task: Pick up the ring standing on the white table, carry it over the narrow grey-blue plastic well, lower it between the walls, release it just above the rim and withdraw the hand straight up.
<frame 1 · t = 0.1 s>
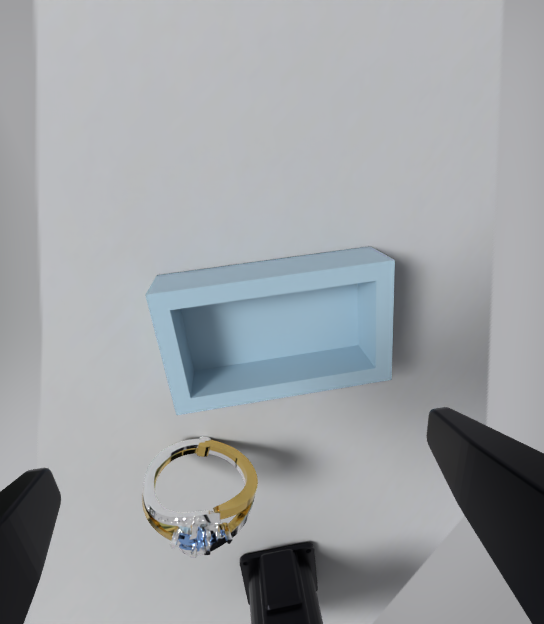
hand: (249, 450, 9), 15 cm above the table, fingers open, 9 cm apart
well: (272, 316, 23), on the table
ring: (204, 439, 26), on the table
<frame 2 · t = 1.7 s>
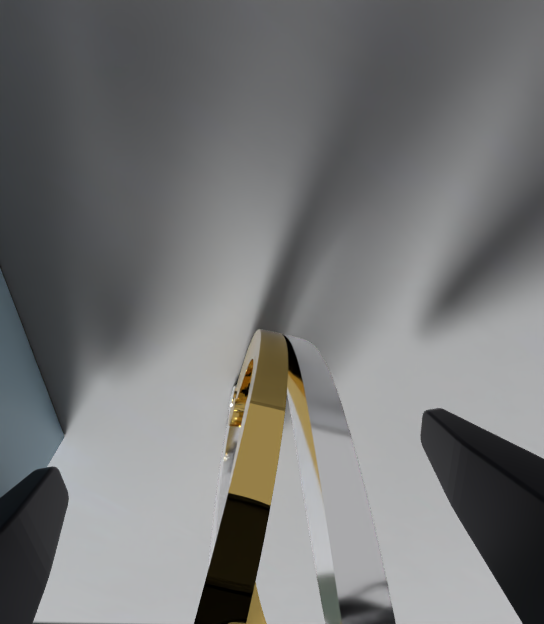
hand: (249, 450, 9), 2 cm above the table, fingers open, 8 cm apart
ring: (244, 392, 11), on the table
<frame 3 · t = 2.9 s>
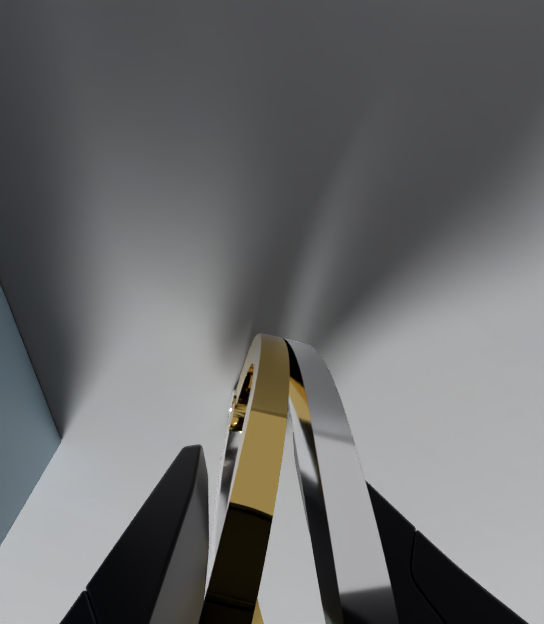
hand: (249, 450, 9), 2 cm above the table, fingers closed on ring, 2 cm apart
ring: (244, 396, 11), on the table, touching gripper
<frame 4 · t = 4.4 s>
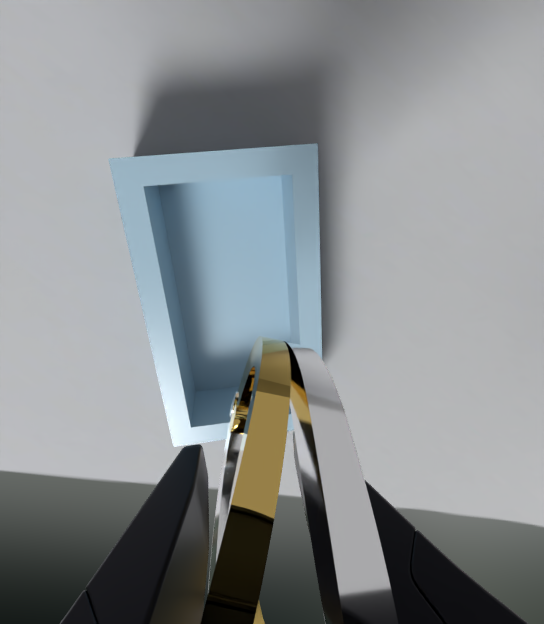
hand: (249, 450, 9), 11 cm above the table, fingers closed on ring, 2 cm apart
well: (233, 290, 19), on the table
ring: (246, 398, 11), point 9 cm above the table, touching gripper
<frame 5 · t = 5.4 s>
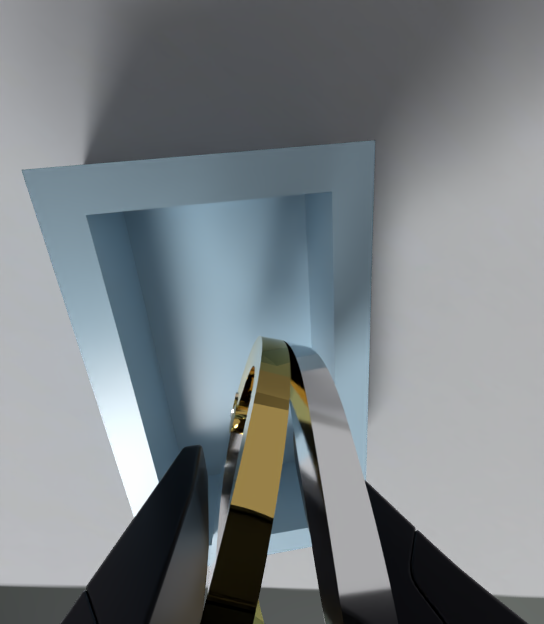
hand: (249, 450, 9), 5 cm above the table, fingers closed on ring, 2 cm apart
well: (235, 347, 13), on the table
ring: (246, 397, 11), point 3 cm above the table, touching gripper
when the fingers open (5 cm above the table, at t = 6.0 s): ring drops 2 cm, resting on well.
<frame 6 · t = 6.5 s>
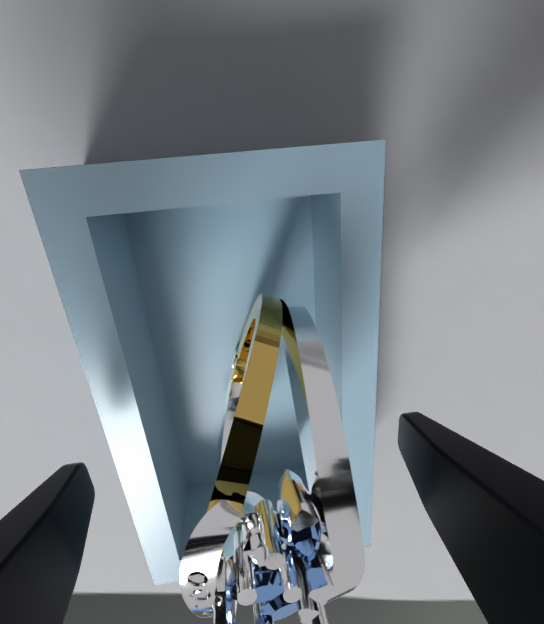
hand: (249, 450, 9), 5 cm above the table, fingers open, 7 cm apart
well: (239, 351, 13), on the table
ring: (244, 356, 13), resting on well
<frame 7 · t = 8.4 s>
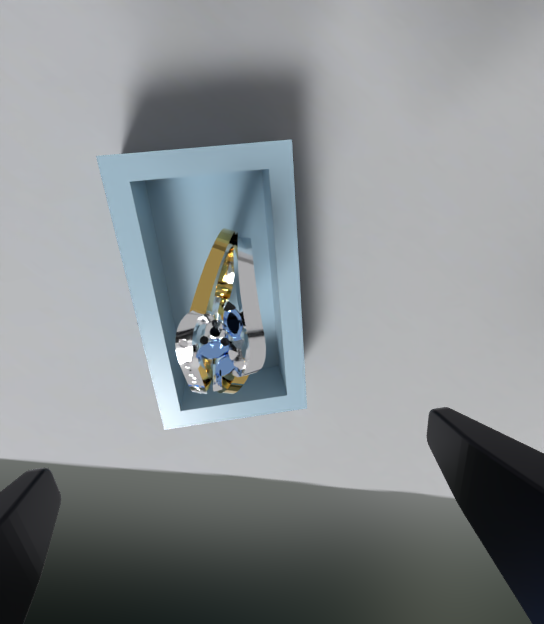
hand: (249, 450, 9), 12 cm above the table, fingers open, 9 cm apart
well: (220, 281, 20), on the table
ring: (222, 284, 19), resting on well
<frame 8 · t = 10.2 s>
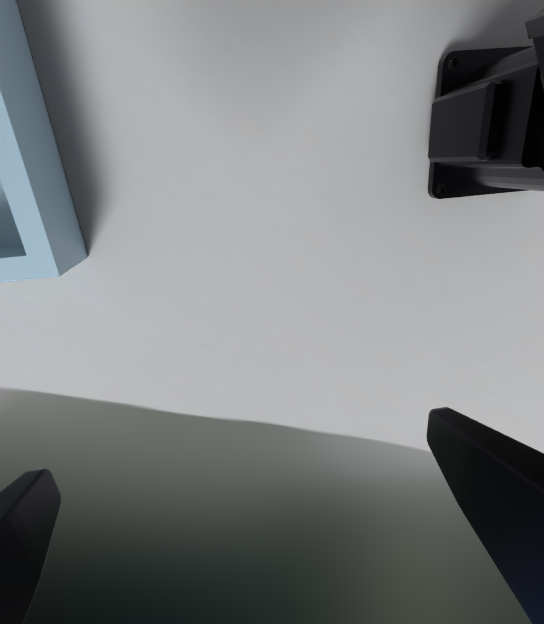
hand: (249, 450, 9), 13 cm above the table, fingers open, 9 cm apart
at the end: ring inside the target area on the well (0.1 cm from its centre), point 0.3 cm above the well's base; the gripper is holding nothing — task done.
